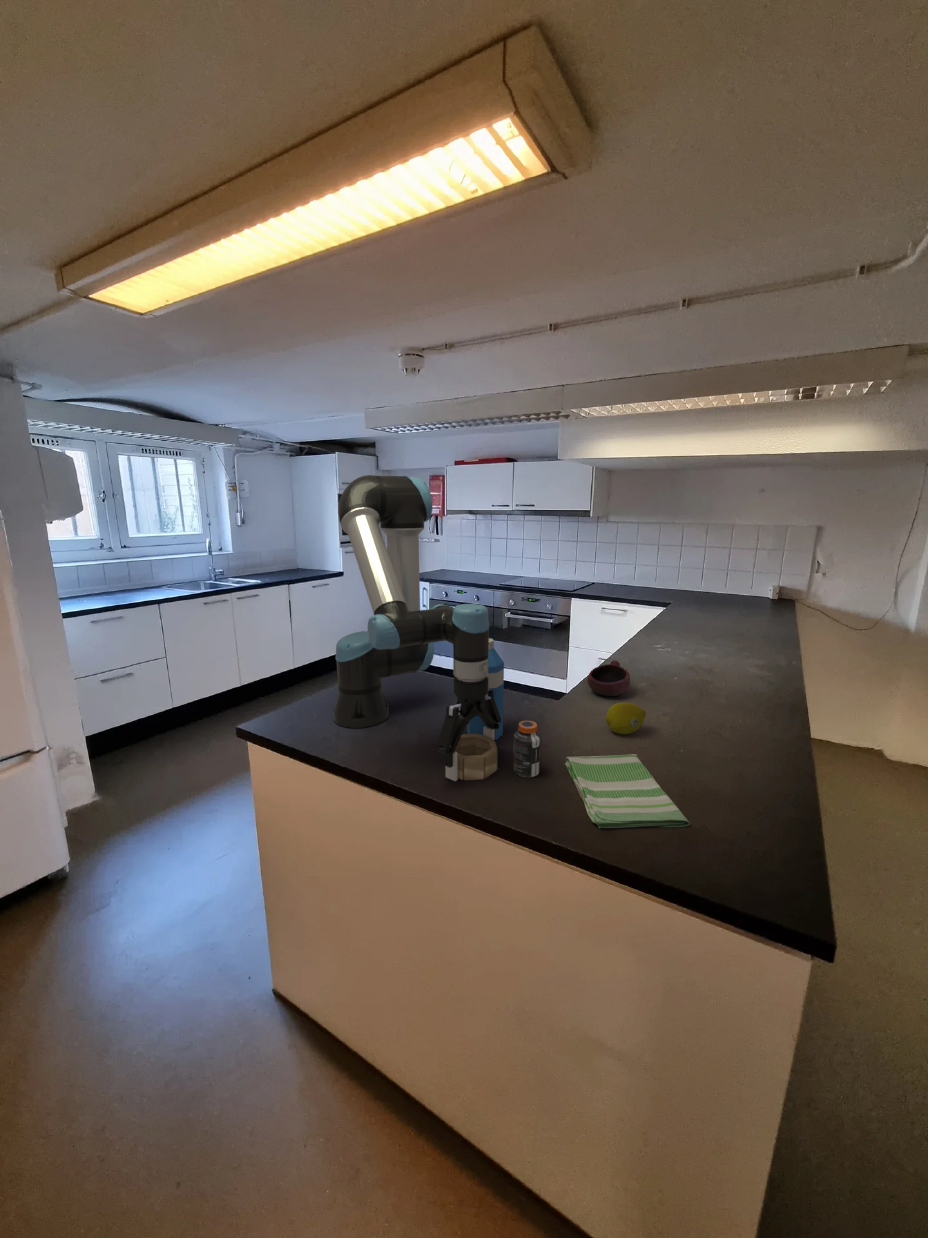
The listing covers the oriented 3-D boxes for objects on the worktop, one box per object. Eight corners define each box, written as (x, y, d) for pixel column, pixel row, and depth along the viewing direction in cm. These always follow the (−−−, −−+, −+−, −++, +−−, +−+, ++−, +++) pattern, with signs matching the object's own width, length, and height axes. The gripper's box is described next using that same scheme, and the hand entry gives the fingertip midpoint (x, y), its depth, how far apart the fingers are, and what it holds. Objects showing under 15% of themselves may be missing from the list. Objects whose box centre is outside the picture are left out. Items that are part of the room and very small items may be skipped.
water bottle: (500, 743, 120) (501, 646, 114) (463, 740, 122) (463, 644, 116) (504, 727, 129) (506, 636, 123) (470, 724, 131) (470, 634, 125)
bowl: (635, 701, 145) (637, 676, 144) (592, 701, 145) (593, 676, 143) (618, 682, 161) (620, 659, 159) (579, 682, 161) (580, 659, 159)
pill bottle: (544, 776, 105) (546, 728, 103) (519, 780, 104) (520, 731, 101) (533, 762, 111) (534, 716, 108) (508, 766, 109) (509, 719, 107)
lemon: (609, 740, 122) (611, 710, 120) (598, 726, 129) (600, 698, 127) (651, 738, 122) (654, 709, 120) (638, 725, 130) (640, 697, 128)
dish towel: (594, 832, 88) (595, 819, 87) (561, 765, 111) (562, 754, 110) (689, 828, 89) (691, 815, 88) (638, 763, 112) (639, 752, 111)
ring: (434, 768, 109) (434, 747, 108) (466, 748, 117) (466, 729, 116) (475, 785, 102) (475, 764, 101) (505, 763, 110) (506, 743, 109)
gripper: (446, 697, 93) (447, 797, 97) (516, 665, 112) (515, 749, 117) (418, 689, 97) (420, 784, 102) (490, 659, 116) (489, 740, 121)
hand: (471, 766), depth 109 cm, fingers open, 13 cm apart
